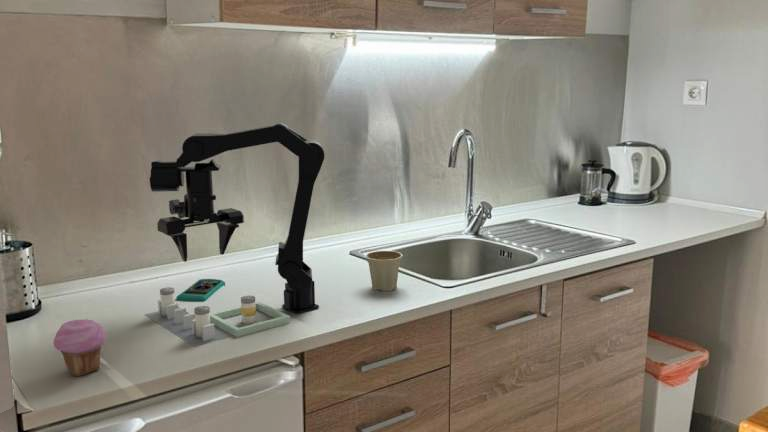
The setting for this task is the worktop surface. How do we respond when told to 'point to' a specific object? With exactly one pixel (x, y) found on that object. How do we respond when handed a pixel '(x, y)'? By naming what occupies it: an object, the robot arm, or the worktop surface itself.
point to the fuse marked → (248, 309)
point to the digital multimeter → (201, 290)
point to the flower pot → (384, 269)
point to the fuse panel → (185, 325)
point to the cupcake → (80, 345)
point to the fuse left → (166, 299)
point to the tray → (279, 320)
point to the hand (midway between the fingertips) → (203, 257)
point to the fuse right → (201, 319)
